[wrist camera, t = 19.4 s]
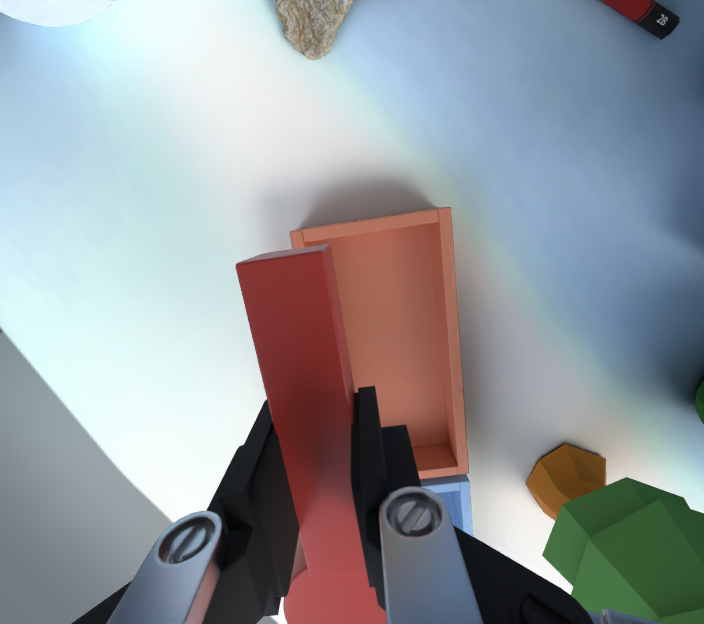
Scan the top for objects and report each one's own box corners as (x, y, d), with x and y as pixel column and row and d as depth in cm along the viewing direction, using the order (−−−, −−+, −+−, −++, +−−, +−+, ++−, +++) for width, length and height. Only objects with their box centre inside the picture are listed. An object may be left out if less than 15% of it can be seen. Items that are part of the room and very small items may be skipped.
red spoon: (373, 236, 10) (378, 241, 7) (421, 595, 13) (434, 670, 11) (218, 260, 10) (180, 271, 8) (305, 608, 13) (295, 683, 11)
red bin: (340, 459, 27) (338, 489, 24) (297, 229, 22) (289, 231, 19) (456, 445, 26) (469, 473, 23) (437, 207, 22) (451, 206, 19)
